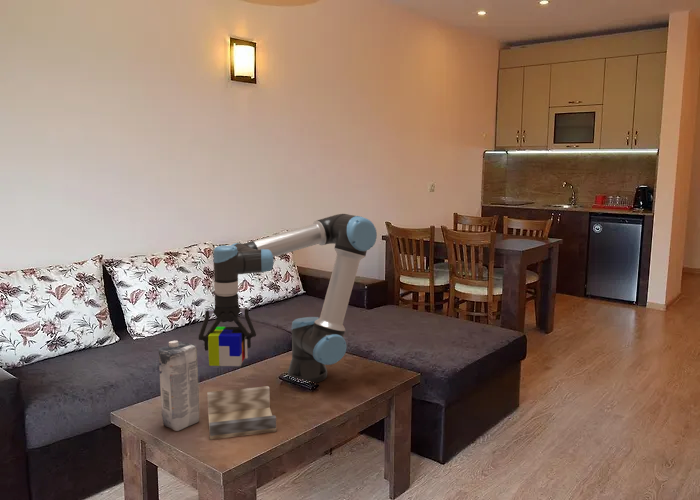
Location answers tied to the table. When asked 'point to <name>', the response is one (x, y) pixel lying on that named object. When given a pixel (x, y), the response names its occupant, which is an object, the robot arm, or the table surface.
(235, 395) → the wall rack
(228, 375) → the table surface
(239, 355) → the puzzle toy
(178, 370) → the juice carton
